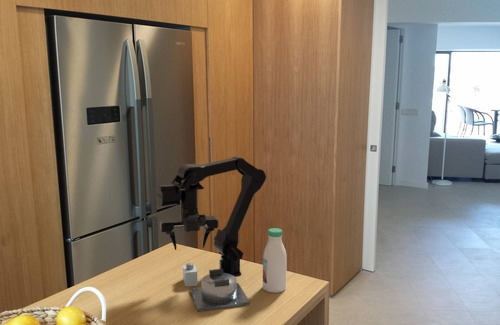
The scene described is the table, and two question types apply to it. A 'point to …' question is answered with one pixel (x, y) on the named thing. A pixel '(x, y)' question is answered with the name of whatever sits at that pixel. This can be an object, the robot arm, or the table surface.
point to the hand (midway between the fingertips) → (189, 248)
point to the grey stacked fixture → (218, 292)
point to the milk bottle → (274, 263)
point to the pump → (190, 275)
